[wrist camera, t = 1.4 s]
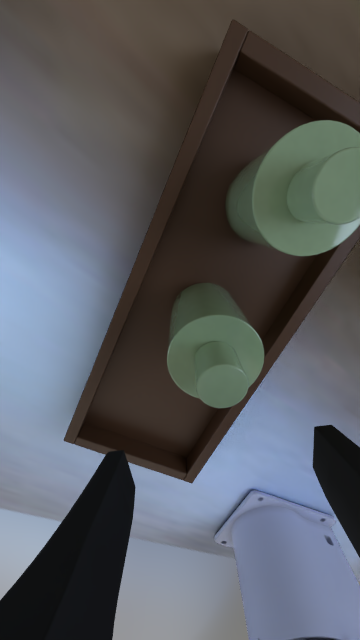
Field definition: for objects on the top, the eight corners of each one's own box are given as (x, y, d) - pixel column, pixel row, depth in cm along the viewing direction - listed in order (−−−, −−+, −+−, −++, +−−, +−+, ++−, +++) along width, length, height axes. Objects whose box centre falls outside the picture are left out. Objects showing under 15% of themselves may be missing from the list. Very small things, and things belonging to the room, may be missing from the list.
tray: (388, 154, 15) (424, 143, 13) (190, 459, 23) (191, 483, 21) (223, 50, 13) (232, 18, 11) (74, 419, 21) (63, 441, 19)
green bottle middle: (249, 299, 17) (304, 363, 10) (217, 354, 18) (243, 445, 11) (188, 271, 16) (196, 314, 9) (160, 329, 18) (146, 410, 10)
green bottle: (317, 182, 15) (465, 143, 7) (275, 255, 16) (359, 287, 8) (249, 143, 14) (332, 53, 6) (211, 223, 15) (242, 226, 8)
